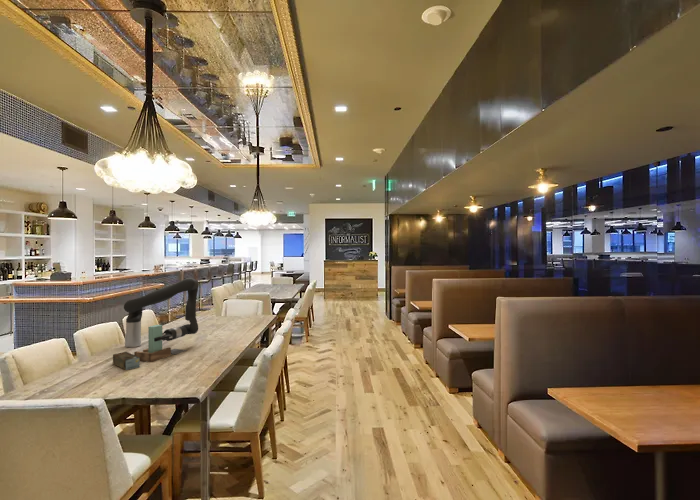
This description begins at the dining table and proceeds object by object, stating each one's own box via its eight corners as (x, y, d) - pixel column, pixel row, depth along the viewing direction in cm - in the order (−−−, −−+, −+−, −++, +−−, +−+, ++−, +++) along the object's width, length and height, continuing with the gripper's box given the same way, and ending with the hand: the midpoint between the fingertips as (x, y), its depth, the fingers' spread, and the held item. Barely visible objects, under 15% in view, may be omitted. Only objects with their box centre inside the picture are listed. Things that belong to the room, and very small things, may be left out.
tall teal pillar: (148, 358, 236) (148, 326, 236) (157, 355, 243) (157, 324, 243) (153, 359, 235) (153, 327, 235) (162, 356, 241) (162, 325, 241)
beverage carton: (125, 370, 214) (125, 359, 214) (112, 364, 226) (112, 353, 226) (140, 367, 220) (140, 356, 220) (126, 361, 232) (126, 350, 232)
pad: (161, 353, 250) (161, 352, 250) (174, 349, 261) (174, 348, 261) (175, 354, 247) (175, 354, 247) (187, 350, 257) (187, 349, 257)
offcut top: (143, 354, 237) (143, 349, 237) (150, 351, 243) (150, 347, 243) (147, 354, 237) (147, 350, 237) (154, 351, 242) (154, 347, 243)
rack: (133, 360, 234) (133, 351, 234) (153, 353, 249) (153, 346, 249) (151, 362, 230) (151, 353, 230) (170, 355, 245) (170, 347, 245)
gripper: (164, 327, 255) (142, 332, 238) (181, 328, 250) (160, 334, 234) (164, 338, 255) (142, 344, 238) (181, 340, 250) (160, 346, 234)
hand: (151, 339), depth 236 cm, fingers closed on tall teal pillar, 4 cm apart
